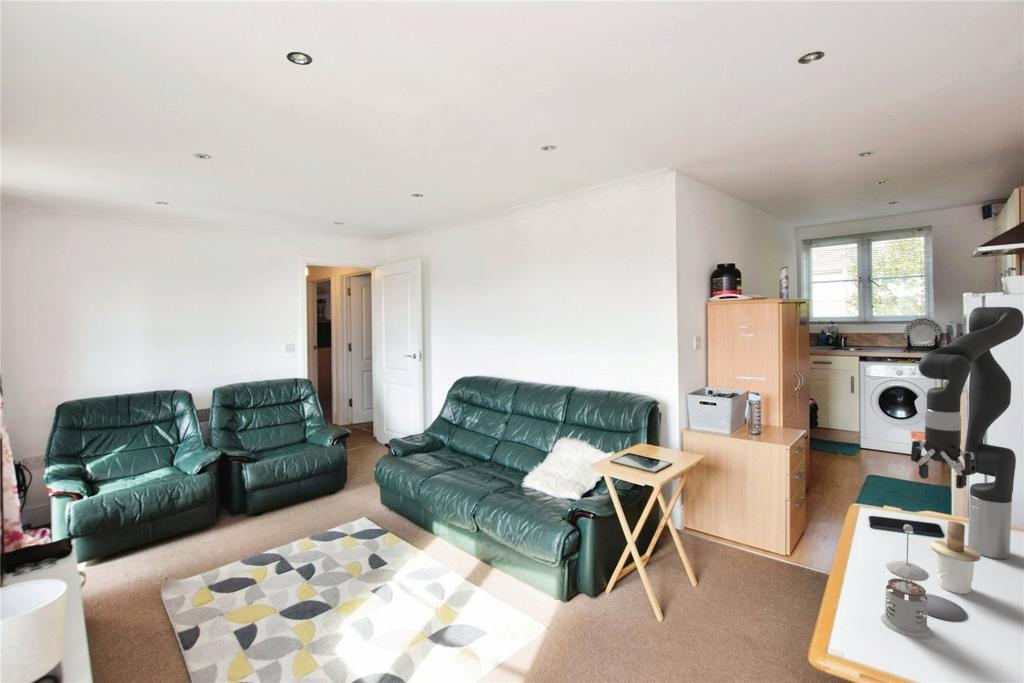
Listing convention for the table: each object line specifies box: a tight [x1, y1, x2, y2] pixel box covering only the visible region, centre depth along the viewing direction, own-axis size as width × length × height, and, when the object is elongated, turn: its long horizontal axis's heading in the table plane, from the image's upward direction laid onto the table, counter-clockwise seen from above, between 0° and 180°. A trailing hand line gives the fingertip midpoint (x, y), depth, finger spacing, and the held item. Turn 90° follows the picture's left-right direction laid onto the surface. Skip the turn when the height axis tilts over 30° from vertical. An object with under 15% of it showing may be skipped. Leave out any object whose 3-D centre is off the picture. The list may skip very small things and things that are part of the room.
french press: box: [879, 523, 933, 639], centre depth 119 cm, size 10×12×25 cm
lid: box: [930, 520, 982, 563], centre depth 133 cm, size 10×10×8 cm
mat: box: [921, 593, 967, 622], centre depth 126 cm, size 11×11×1 cm
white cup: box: [935, 552, 975, 595], centre depth 134 cm, size 8×8×10 cm
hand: (941, 482), depth 138 cm, fingers open, 8 cm apart
